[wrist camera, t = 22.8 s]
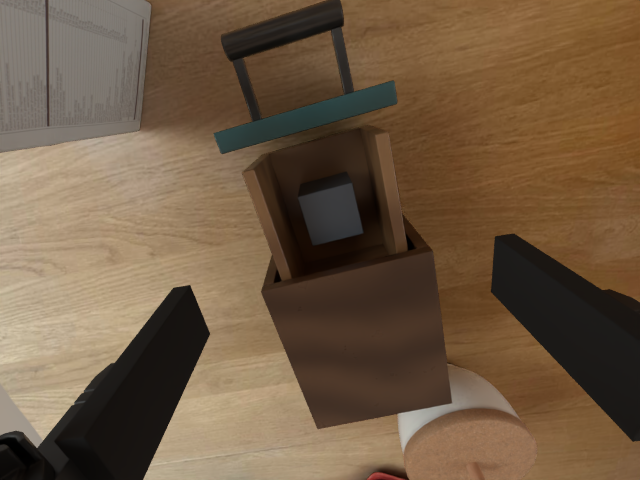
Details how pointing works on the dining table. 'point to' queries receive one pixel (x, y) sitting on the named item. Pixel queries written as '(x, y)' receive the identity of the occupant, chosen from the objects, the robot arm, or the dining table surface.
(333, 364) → the cabinet
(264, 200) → the drawer
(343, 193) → the block
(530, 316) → the robot arm
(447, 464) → the lidded bowl
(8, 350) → the dining table surface
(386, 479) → the butter dish
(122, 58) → the supplement box
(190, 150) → the dining table surface
